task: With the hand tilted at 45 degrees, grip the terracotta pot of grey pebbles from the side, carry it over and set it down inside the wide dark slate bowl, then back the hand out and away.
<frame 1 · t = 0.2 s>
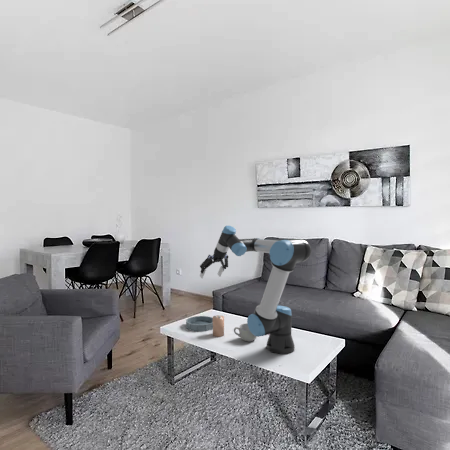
hand: (210, 276, 215), 35 cm above the table, tool tilted 30°, fingers open, 13 cm apart
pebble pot: (218, 334, 208), on the table
lily: (262, 333, 212), on the table
bowl: (200, 326, 224), on the table
teacup: (245, 340, 200), on the table
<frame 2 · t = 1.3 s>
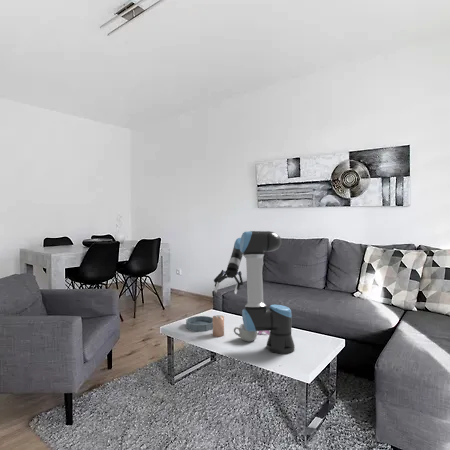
hand: (225, 292, 217), 24 cm above the table, tool tilted 45°, fingers open, 13 cm apart
nothing on the table moved.
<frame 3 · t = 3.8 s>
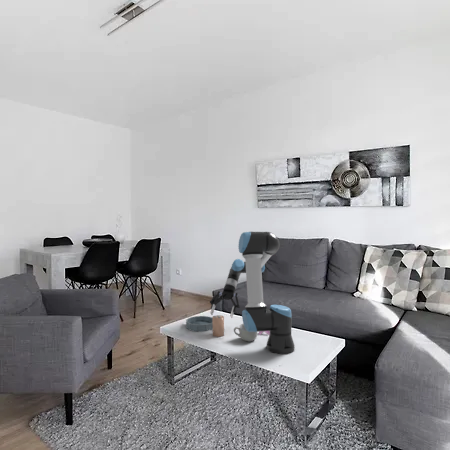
hand: (221, 315, 214), 10 cm above the table, tool tilted 45°, fingers open, 13 cm apart
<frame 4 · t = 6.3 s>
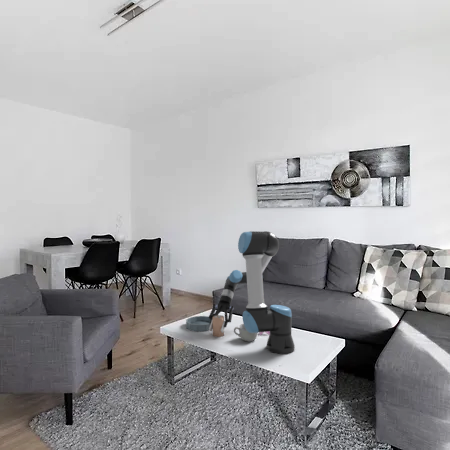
hand: (216, 330, 205), 4 cm above the table, tool tilted 45°, fingers closed on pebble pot, 7 cm apart
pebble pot: (218, 334, 208), on the table, touching gripper
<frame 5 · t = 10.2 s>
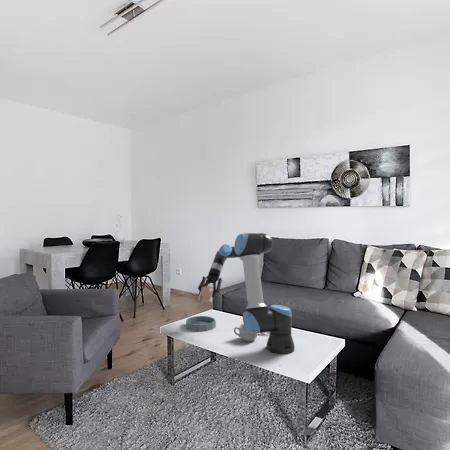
hand: (204, 300, 216), 19 cm above the table, tool tilted 45°, fingers closed on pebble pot, 7 cm apart
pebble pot: (206, 304, 219), point 16 cm above the table, touching gripper
when the fingers open (6 cm above the table, at t = 14.0 s): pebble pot drops 1 cm, resting on bowl.
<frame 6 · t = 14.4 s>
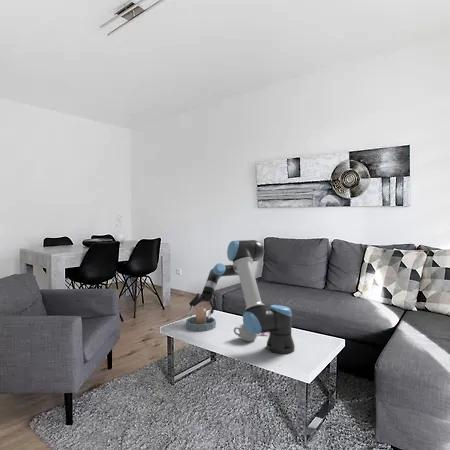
hand: (199, 316, 222), 7 cm above the table, tool tilted 45°, fingers open, 13 cm apart
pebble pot: (200, 324, 224), point 1 cm above the table, touching bowl
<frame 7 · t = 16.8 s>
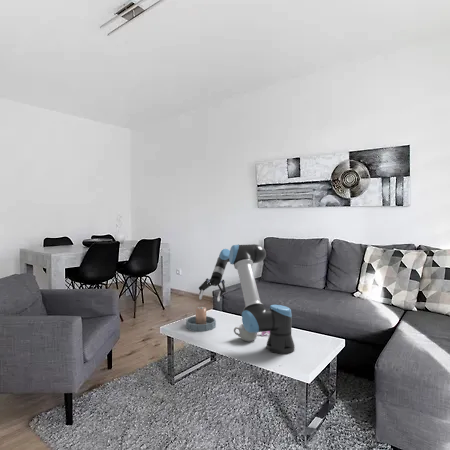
hand: (208, 299, 233), 15 cm above the table, tool tilted 45°, fingers open, 13 cm apart
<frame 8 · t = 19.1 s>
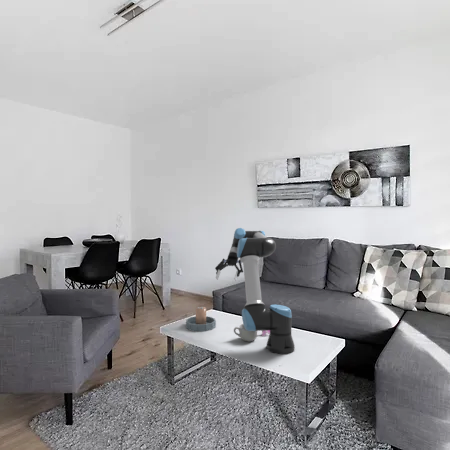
hand: (225, 279, 231), 30 cm above the table, tool tilted 45°, fingers open, 13 cm apart
at the end: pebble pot inside the target area on the bowl (0.1 cm from its centre), point 1.0 cm above the bowl's base; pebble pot tilted 0°; the gripper is holding nothing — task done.
